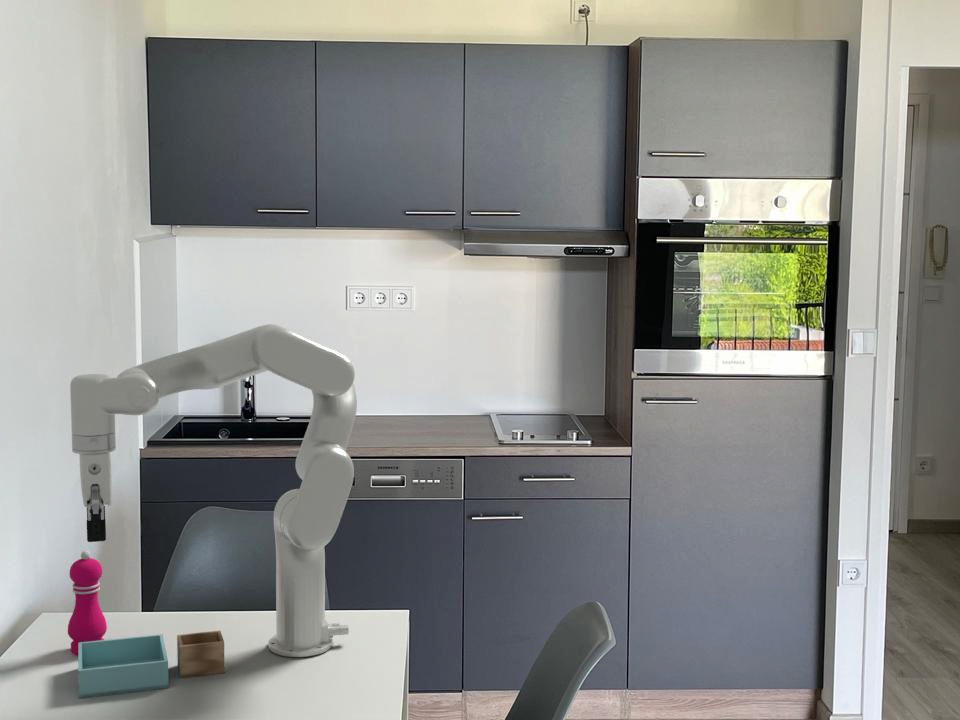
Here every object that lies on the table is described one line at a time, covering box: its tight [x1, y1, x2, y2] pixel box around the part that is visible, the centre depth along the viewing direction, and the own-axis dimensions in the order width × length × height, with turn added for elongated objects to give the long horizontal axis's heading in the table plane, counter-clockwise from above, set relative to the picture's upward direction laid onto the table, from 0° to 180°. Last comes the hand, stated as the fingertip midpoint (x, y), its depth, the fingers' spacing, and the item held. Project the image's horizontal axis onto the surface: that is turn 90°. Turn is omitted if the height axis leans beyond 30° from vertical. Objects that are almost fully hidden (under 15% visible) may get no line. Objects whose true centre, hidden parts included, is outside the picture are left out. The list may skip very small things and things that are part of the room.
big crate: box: [77, 633, 169, 699], centre depth 205 cm, size 15×14×5 cm
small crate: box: [176, 630, 226, 679], centre depth 210 cm, size 8×6×6 cm
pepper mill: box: [67, 550, 108, 657], centre depth 217 cm, size 7×7×20 cm
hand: (96, 534), depth 205 cm, fingers open, 9 cm apart
